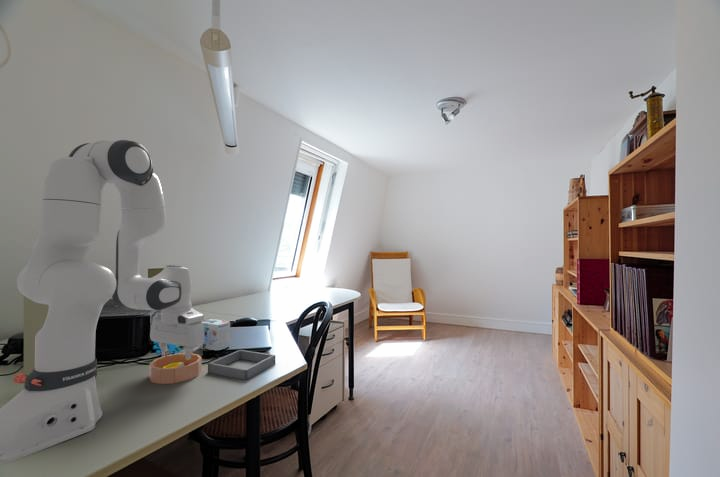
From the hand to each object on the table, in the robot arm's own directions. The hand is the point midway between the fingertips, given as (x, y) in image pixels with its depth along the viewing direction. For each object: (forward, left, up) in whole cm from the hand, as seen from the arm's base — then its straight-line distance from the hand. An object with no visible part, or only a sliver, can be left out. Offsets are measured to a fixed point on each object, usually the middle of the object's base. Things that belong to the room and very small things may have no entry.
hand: (176, 357), depth 114 cm
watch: (0, +4, -4) cm, 6 cm away
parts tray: (+13, -16, -6) cm, 21 cm away
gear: (+12, +18, -6) cm, 23 cm away
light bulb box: (+26, +9, -6) cm, 28 cm away
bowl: (0, 0, -6) cm, 6 cm away
